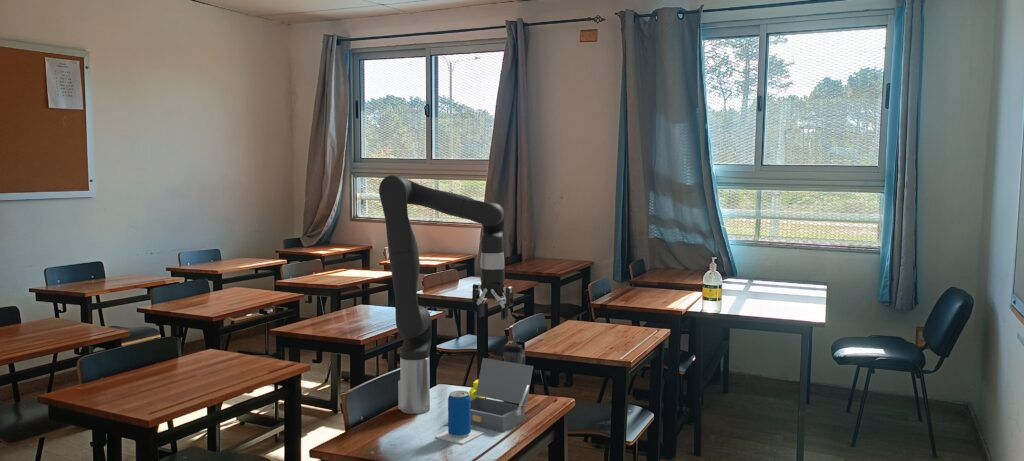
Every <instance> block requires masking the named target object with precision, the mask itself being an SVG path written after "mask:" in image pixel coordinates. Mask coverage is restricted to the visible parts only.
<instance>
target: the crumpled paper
mask: <svg viewBox="0 0 1024 461" xmlns="http://www.w3.org/2000/svg"><path fill="white" fill-rule="evenodd" d="M478 380H479V378H478V379H475V380H474V381H473V383H472V386H473V387H470V389H469V392H468V393H469V396H470V398H471V399H472V398H475V397H481V398H486V399H487V397H482V396H477V395H476V391H477V385H478Z"/></svg>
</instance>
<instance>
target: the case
mask: <svg viewBox="0 0 1024 461" xmlns="http://www.w3.org/2000/svg"><path fill="white" fill-rule="evenodd" d="M481 360H482V362H481V365H480V371H479V376H478V385H477V391H476V395H477V396H482V397H486V398H481V397H475V398H472V399H471V426H474V427H478V428H482V429H486V430H490V431H495V432H498V433H505V432H507V431H508V430H510V429H513V428H514V427H515V426H517V425H519V424H521V423H523V422H525V417H526V416H525V413H526V412H525V410H526V409H525V408H526V407H525V406H527V404H528V399H529V393H530V387H531V381H532V376H533V370H534V365H528V364H525V365H524V364H518V363H512V362H506V361H504V360H500V359H493V358H486V357H482V359H481ZM504 401H507V402H512V403H517V404H519V405H516V404H511V403H506V402H504Z"/></svg>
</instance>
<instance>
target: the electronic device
mask: <svg viewBox="0 0 1024 461" xmlns="http://www.w3.org/2000/svg"><path fill="white" fill-rule="evenodd" d="M503 361H506V362H512V363H518V364H524V365H526V342H525V341H524V340H519V339H518V340H517V339H510V340H508V341H507V342H506V343H505V344H504V345H503ZM503 402H506V403H511V404H516V405H519V404H517V403H512V402H507V401H503Z"/></svg>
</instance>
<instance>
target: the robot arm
mask: <svg viewBox="0 0 1024 461" xmlns="http://www.w3.org/2000/svg"><path fill="white" fill-rule="evenodd" d="M378 194H379V199H380V202H381V206H382V207H381V208H382V211H383V215H384V221H385V227H386V228H385V229H386V239H387V248H388V249H387V250H388V258H389V265H390V271H391V278H392V285H393V291H394V292H393V293H394V304H395V305H394V306H395V307H394V308H395V325H396V329H397V331H398V333H399V334H400V335H401V337H403V343H402V345H401V348H400V351H399V359H400V362H399V363H400V367H399V369H400V370H399V371H400V379H399V380H398V382H397V386H398V388H397V389H398V390H397V392H398V393H397V394H398V395H397V396H398V397H397V398H398V401H397V402H398V410H400V411H401V412H402V413H404V414H409V415H415V414H416V415H419V414H423V413H427V412H429V411H430V410H431V397H430V396H431V394H430V393H431V390H430V389H431V388H430V386H431V384H430V380H431V378H430V376H431V374H430V371H431V370H430V351H431V346H432V333H433V332H432V328H433V327H432V326H433V324H432V322H433V321H432V317H431V313H430V311H429V310H428V309H427V308H426V307H424V306H422V305H419V301H418V291H417V290H418V283H419V277H420V270H421V268H420V266H421V262H420V256H419V247H418V242H417V240H416V236H415V234H414V231H413V228H412V226H411V223H410V220H409V219H410V218H409V214H408V205H414V206H415V205H416V206H421V207H425V208H428V209H430V210H434V211H437V212H439V213H441V214H445V215H448V216H452V217H455V218H459V219H464V220H469V221H471V222H475V223H478V224H480V225H482V235H481V239H480V240H481V241H480V248H481V249H480V252H481V253H480V281H481V284H480V283H479V282H478V283H474V284H472V292H471V293H472V295H471V302H472V303H475V304H476V305H477V315H478V317H479V318H482V317H485V302H486V301H487V300H490V299H491V300H496V301H497V303H498V304H499V305H500V306H501V308H500V318H501V320H503V321H504V320H507V318H508V317H509V307H512V306H514V303H515V302H514V300H515V299H514V288H513V286H505V255H504V251H505V250H504V230H505V210H504V208H503V207H502V205H500V204H499V203H497V202H487V201H481V200H477V199H474V198H472V197H470V196H467V195H462V194H459V193H454V192H450V191H445V190H439V189H435V188H432V187H427V186H424V185H422V184H419V183H416V182H414V180H410V179H408V178H406V177H405V176H402V175H397V174H395V175H394V174H392V175H391V174H389V175H387V176H385V177H384V178H382V180H381V181H380V183H379V187H378ZM481 291H482V292H481Z"/></svg>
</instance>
